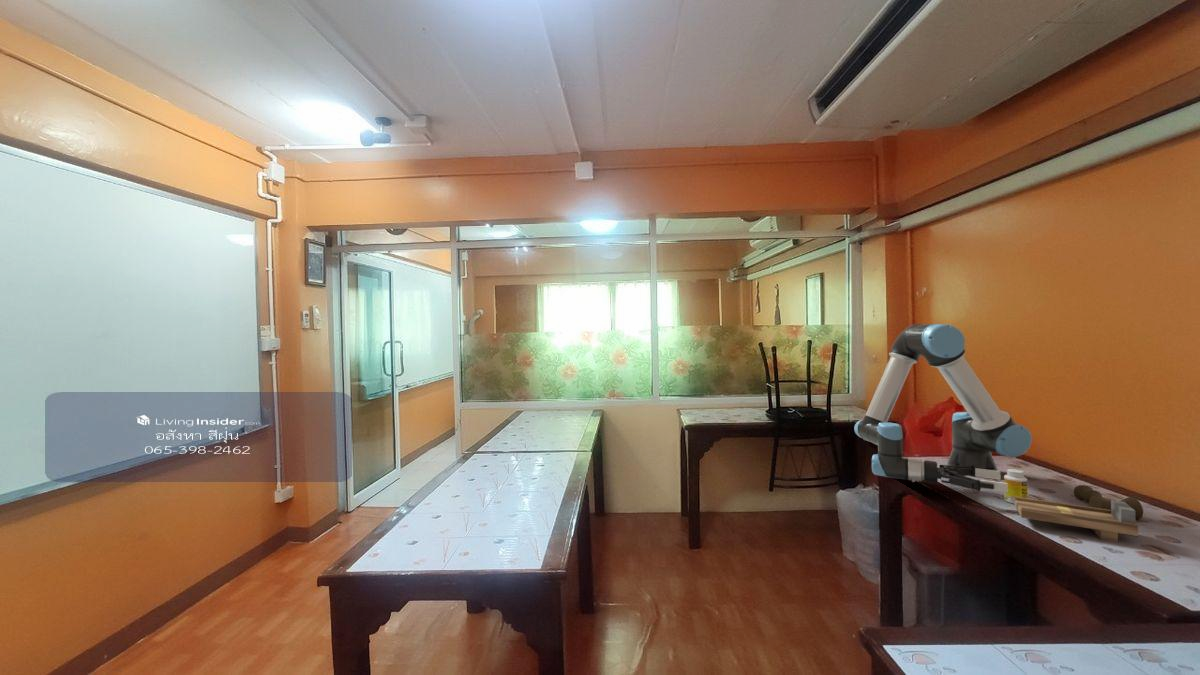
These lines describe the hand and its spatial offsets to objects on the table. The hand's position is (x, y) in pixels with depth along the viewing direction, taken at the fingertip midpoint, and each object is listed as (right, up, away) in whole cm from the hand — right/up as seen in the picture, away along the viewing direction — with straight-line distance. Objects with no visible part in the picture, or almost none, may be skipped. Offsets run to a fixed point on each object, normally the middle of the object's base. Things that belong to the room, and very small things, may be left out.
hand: (1003, 481), depth 146 cm
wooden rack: (+1, -7, -20) cm, 21 cm away
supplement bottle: (+3, -7, -1) cm, 7 cm away
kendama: (+23, -6, -9) cm, 25 cm away
